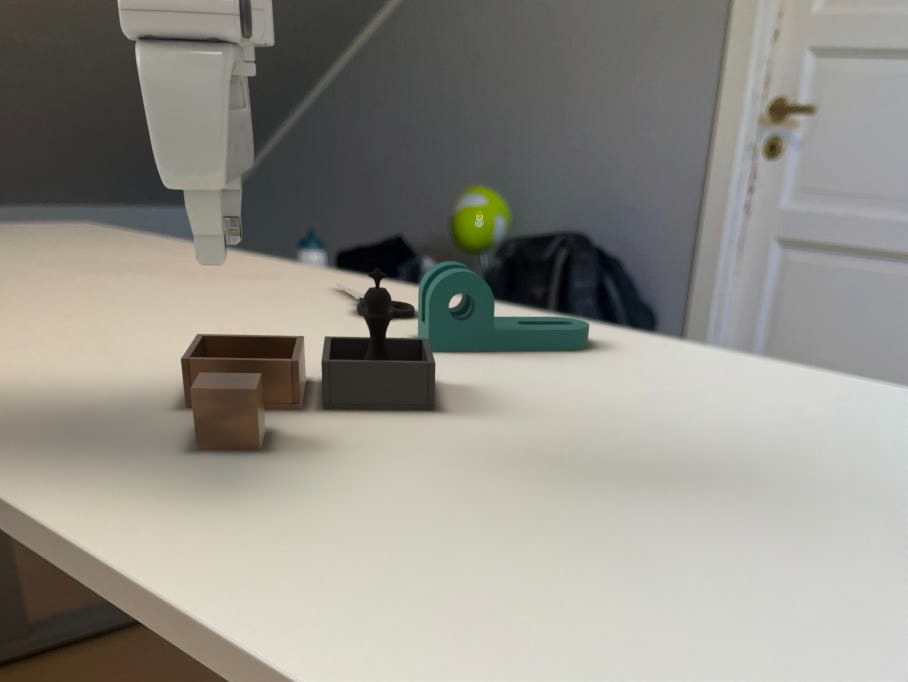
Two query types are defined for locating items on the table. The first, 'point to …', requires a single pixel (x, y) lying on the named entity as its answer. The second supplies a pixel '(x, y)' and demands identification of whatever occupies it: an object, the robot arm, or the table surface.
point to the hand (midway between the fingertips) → (221, 253)
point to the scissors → (394, 307)
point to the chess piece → (377, 317)
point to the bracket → (485, 318)
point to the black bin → (378, 375)
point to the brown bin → (251, 364)
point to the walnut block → (228, 411)
